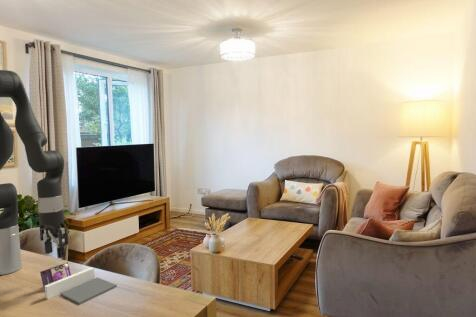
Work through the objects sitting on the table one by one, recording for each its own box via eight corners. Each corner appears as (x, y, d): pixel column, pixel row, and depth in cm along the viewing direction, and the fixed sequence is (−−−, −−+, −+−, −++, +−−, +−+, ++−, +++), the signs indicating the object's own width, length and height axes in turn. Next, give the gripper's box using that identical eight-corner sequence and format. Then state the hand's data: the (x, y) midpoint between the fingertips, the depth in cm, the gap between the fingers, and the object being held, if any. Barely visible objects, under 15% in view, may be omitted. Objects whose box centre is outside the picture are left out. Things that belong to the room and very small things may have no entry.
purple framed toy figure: (41, 271, 107) (68, 262, 115) (35, 273, 110) (62, 263, 118) (46, 291, 107) (73, 281, 114) (39, 292, 110) (66, 282, 117)
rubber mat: (60, 295, 105) (60, 293, 105) (97, 279, 115) (97, 277, 115) (79, 304, 98) (79, 302, 98) (116, 286, 109) (116, 285, 109)
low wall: (45, 298, 103) (44, 285, 103) (92, 278, 116) (91, 267, 116) (47, 299, 102) (46, 287, 102) (94, 279, 115) (94, 268, 115)
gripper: (29, 209, 113) (33, 255, 114) (50, 213, 104) (54, 263, 106) (52, 205, 119) (55, 248, 120) (73, 208, 111) (76, 255, 112)
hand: (55, 255), depth 113 cm, fingers open, 8 cm apart
